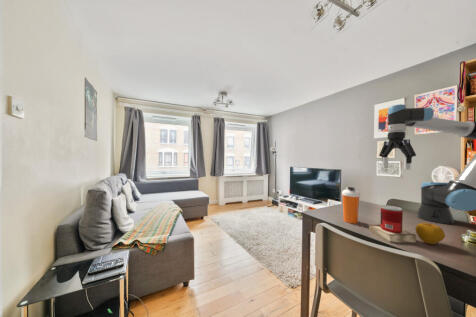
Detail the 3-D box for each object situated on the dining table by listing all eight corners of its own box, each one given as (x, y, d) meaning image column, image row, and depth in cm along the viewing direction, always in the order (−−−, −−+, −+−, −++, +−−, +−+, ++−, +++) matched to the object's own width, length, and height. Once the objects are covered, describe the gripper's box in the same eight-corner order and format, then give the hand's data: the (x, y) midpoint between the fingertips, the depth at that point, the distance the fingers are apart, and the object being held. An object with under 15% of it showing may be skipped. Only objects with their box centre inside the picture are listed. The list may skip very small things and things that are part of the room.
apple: (439, 250, 71) (439, 228, 71) (410, 240, 80) (411, 221, 79) (448, 245, 75) (449, 225, 75) (420, 237, 83) (420, 218, 83)
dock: (391, 230, 90) (391, 224, 90) (415, 242, 78) (416, 234, 78) (369, 230, 90) (369, 224, 90) (390, 242, 78) (390, 235, 78)
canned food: (406, 234, 79) (407, 210, 79) (386, 232, 81) (387, 209, 81) (395, 227, 87) (395, 205, 87) (376, 226, 88) (377, 204, 88)
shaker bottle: (343, 222, 100) (343, 188, 100) (340, 217, 109) (340, 186, 108) (361, 225, 97) (362, 189, 97) (357, 219, 105) (357, 187, 105)
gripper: (372, 134, 113) (372, 167, 113) (411, 128, 88) (411, 170, 88) (383, 134, 113) (383, 167, 114) (426, 128, 88) (425, 170, 89)
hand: (395, 168), depth 101 cm, fingers open, 13 cm apart
